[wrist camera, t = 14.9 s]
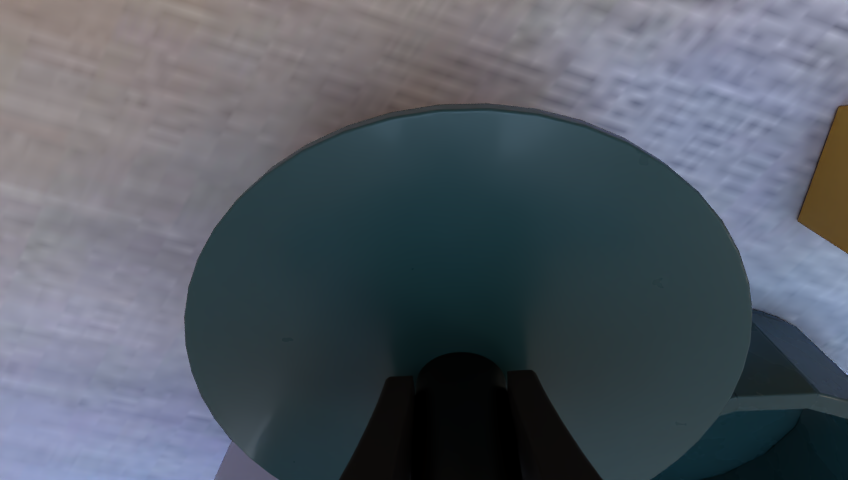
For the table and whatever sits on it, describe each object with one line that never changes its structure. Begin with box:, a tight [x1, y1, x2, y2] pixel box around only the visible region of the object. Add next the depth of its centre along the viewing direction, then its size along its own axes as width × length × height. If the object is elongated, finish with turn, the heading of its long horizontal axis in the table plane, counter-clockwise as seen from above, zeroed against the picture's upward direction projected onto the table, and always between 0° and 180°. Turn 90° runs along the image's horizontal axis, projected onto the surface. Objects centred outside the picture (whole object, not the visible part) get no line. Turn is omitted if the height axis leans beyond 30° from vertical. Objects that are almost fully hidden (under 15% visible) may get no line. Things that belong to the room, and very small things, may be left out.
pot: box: [650, 309, 848, 480], centre depth 21 cm, size 14×14×5 cm
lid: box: [184, 103, 753, 480], centre depth 11 cm, size 15×15×5 cm
